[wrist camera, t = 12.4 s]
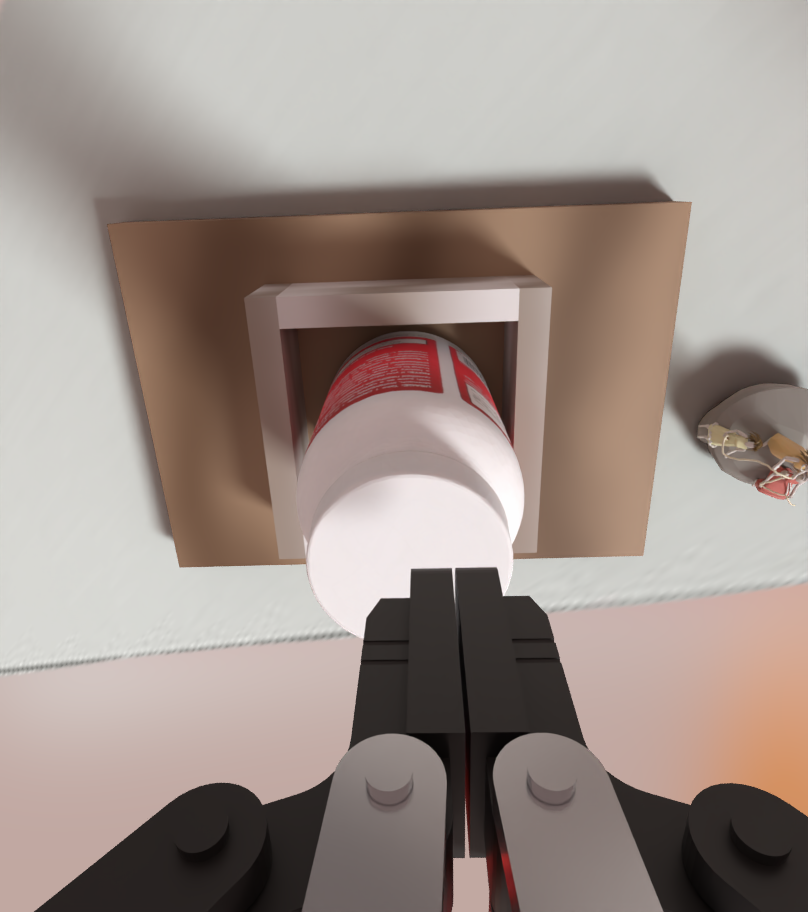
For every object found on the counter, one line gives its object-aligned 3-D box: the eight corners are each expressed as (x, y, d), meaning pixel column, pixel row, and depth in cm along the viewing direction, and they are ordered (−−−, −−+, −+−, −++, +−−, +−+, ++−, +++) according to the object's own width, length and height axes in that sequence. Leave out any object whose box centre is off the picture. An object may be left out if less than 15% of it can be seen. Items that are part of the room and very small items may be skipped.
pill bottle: (306, 443, 25) (234, 623, 14) (365, 300, 22) (328, 392, 12) (447, 500, 26) (473, 706, 15) (518, 368, 23) (601, 507, 13)
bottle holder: (674, 201, 22) (734, 204, 18) (631, 537, 28) (669, 598, 24) (125, 222, 23) (62, 229, 19) (190, 548, 28) (153, 610, 24)
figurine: (837, 371, 25) (926, 430, 19) (809, 470, 26) (883, 549, 21) (696, 368, 25) (744, 425, 20) (679, 464, 27) (718, 539, 22)
